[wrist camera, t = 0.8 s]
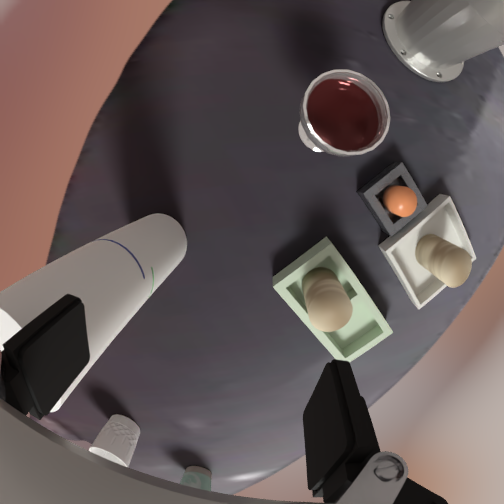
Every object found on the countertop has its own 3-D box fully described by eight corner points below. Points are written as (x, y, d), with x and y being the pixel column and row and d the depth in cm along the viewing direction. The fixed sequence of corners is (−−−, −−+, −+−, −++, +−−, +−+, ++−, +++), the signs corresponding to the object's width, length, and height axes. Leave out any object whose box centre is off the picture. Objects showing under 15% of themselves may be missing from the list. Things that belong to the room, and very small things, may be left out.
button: (397, 179, 29) (407, 180, 26) (411, 202, 29) (421, 205, 27) (377, 195, 29) (386, 198, 27) (391, 218, 30) (401, 222, 27)
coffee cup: (210, 463, 48) (200, 508, 36) (222, 480, 50) (215, 521, 38) (174, 461, 49) (161, 503, 37) (188, 478, 51) (179, 517, 40)
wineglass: (290, 99, 29) (302, 63, 17) (349, 105, 28) (389, 76, 17) (289, 157, 31) (301, 151, 19) (348, 162, 30) (390, 161, 19)
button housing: (393, 162, 30) (402, 162, 27) (418, 202, 31) (427, 205, 28) (356, 191, 31) (363, 193, 29) (383, 231, 32) (391, 236, 30)
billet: (433, 227, 31) (464, 241, 24) (446, 253, 32) (475, 270, 25) (409, 247, 32) (437, 266, 25) (423, 273, 33) (449, 295, 26)
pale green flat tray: (326, 236, 33) (331, 242, 30) (385, 321, 36) (393, 332, 33) (272, 276, 35) (272, 286, 32) (338, 353, 37) (342, 366, 35)
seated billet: (324, 259, 33) (337, 283, 26) (344, 286, 33) (360, 314, 27) (294, 282, 34) (299, 310, 27) (315, 307, 34) (324, 339, 28)
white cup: (137, 440, 47) (122, 475, 38) (105, 421, 47) (86, 454, 37) (148, 427, 45) (132, 464, 36) (113, 406, 44) (92, 442, 35)
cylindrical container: (173, 204, 33) (6, 287, 9) (196, 259, 35) (85, 414, 11) (125, 225, 34) (-36, 314, 10) (148, 276, 36) (23, 409, 12)
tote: (439, 193, 30) (449, 196, 28) (466, 252, 32) (476, 258, 30) (378, 245, 33) (385, 251, 30) (411, 301, 35) (418, 309, 32)
